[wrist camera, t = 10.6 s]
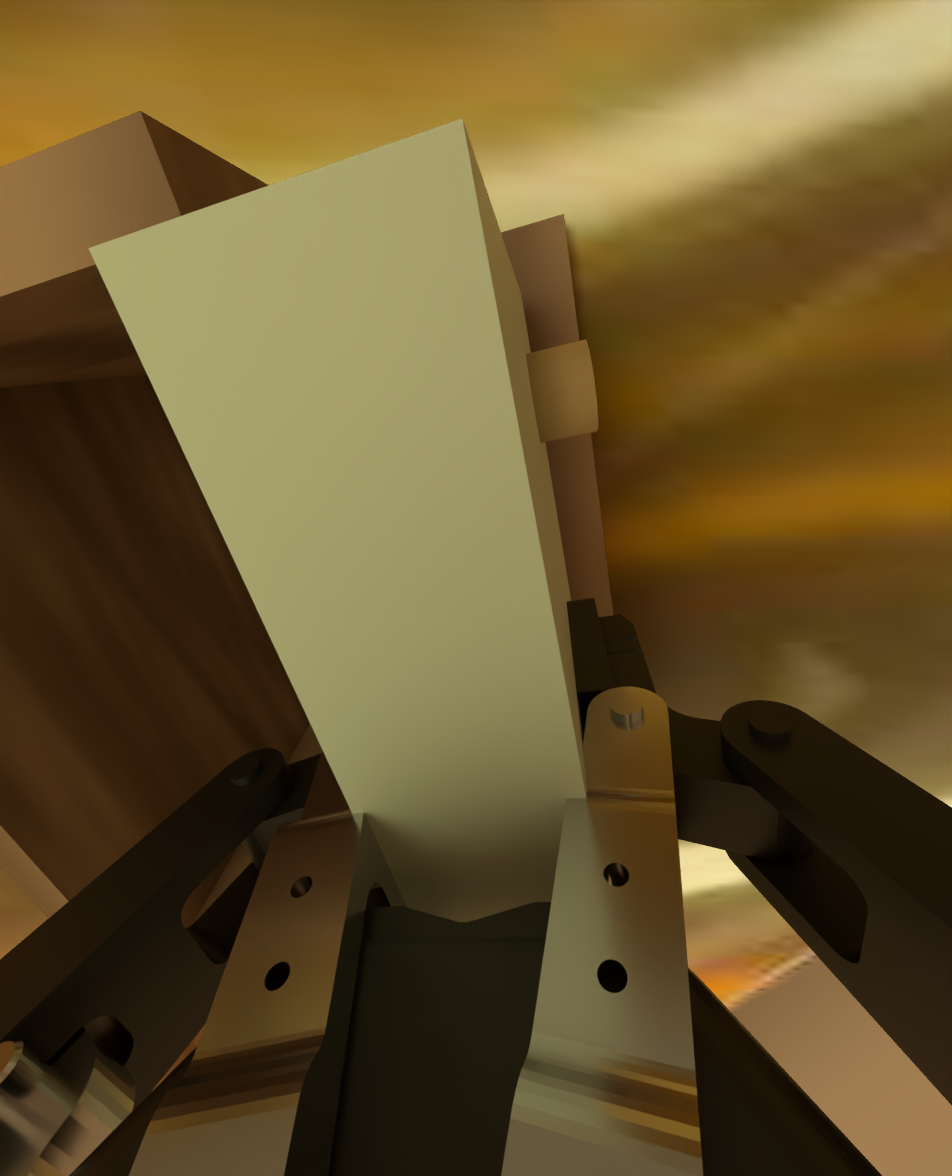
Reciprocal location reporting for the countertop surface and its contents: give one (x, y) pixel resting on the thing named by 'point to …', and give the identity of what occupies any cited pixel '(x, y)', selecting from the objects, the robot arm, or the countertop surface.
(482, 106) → the countertop surface
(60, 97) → the countertop surface
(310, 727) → the cabinet
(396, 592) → the door
